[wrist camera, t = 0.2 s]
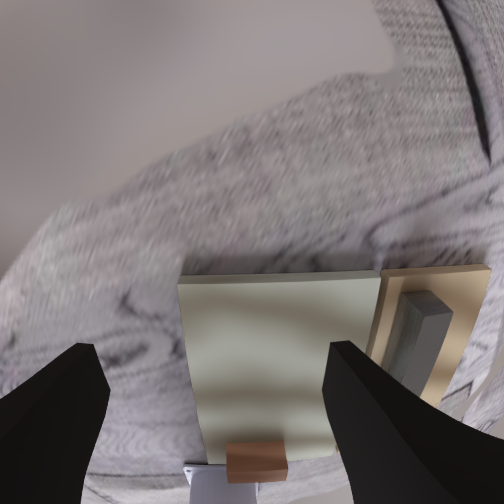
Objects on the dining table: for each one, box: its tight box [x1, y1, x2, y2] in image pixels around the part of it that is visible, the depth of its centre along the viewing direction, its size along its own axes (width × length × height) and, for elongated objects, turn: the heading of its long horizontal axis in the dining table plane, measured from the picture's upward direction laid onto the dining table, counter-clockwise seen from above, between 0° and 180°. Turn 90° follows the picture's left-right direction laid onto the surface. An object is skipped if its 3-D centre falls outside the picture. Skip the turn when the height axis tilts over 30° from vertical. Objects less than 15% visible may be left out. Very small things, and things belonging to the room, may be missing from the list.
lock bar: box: [381, 290, 454, 397], centre depth 19 cm, size 15×3×3 cm, turn 0°
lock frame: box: [177, 264, 492, 483], centre depth 20 cm, size 20×23×4 cm
